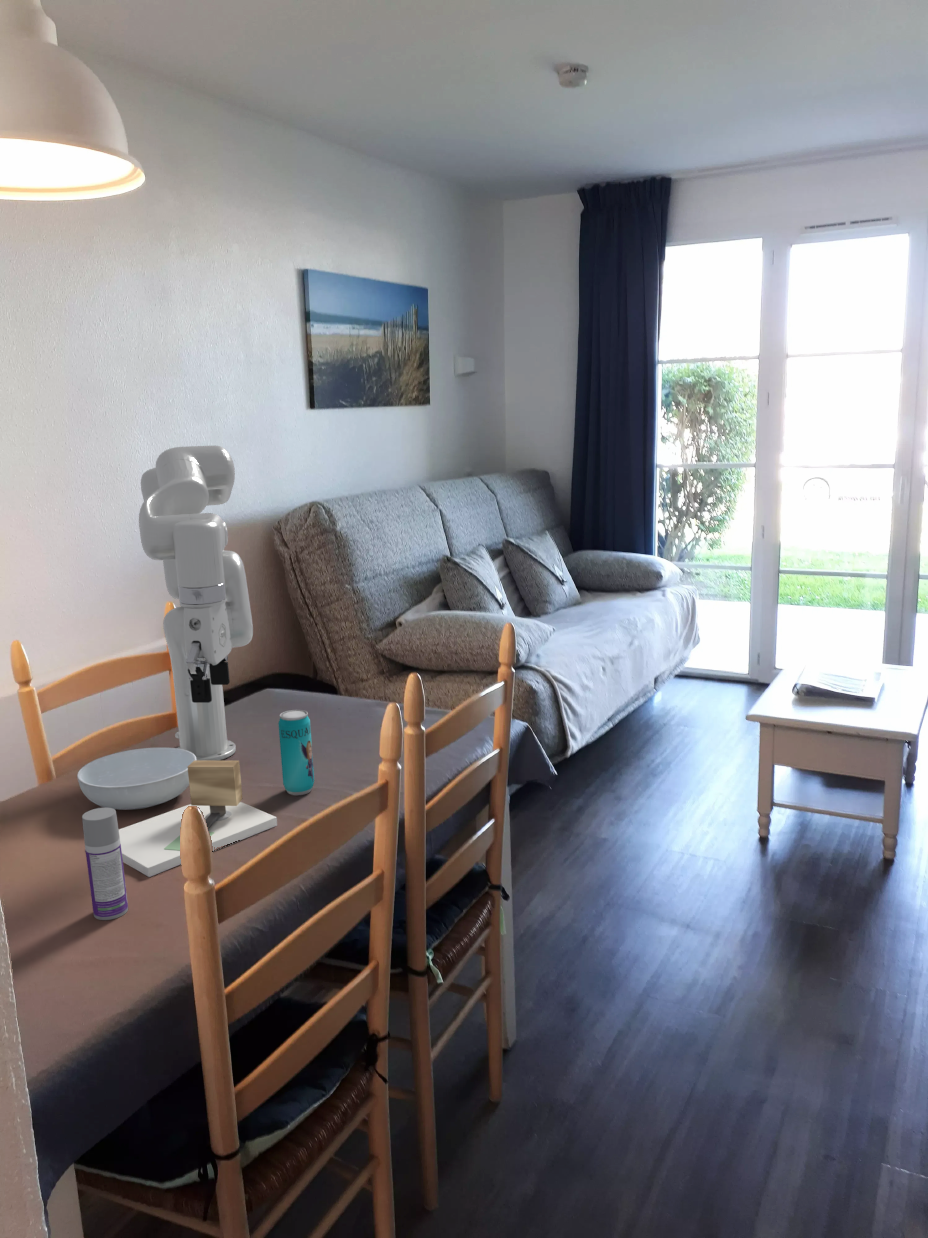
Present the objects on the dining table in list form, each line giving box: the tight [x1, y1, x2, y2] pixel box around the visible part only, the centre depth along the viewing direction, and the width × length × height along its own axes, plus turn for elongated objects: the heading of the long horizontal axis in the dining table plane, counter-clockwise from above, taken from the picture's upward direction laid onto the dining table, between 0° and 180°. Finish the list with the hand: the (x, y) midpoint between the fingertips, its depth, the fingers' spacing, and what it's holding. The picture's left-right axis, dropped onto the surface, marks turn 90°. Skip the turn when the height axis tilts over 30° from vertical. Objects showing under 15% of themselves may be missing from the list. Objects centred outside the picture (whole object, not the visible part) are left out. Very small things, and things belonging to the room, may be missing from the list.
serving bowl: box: [76, 747, 197, 811], centre depth 177 cm, size 21×21×7 cm
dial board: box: [118, 801, 278, 878], centre depth 162 cm, size 18×24×2 cm
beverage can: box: [277, 709, 315, 796], centre depth 178 cm, size 6×6×15 cm
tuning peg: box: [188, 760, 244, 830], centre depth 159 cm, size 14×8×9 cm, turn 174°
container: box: [81, 807, 129, 921], centre depth 136 cm, size 5×5×15 cm
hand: (211, 692), depth 164 cm, fingers open, 9 cm apart
